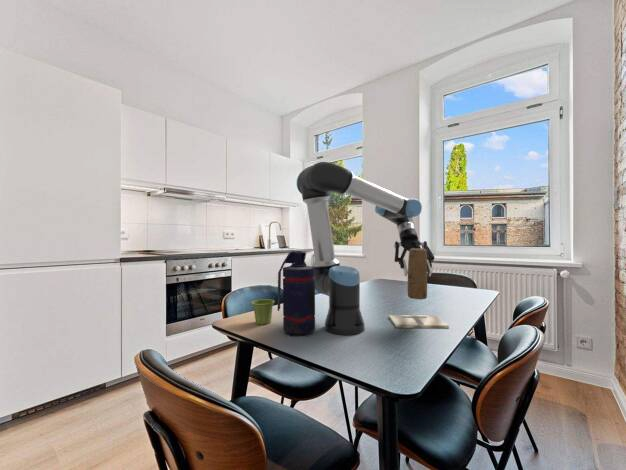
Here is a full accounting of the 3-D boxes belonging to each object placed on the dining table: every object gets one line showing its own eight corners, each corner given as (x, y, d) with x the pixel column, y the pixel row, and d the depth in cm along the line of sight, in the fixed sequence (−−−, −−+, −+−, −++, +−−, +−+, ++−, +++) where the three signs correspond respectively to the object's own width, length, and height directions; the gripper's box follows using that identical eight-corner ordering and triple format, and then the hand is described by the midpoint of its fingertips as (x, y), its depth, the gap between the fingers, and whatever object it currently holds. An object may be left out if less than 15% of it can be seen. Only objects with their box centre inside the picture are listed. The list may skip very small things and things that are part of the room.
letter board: (396, 327, 117) (396, 324, 117) (388, 317, 131) (388, 314, 131) (448, 328, 116) (448, 325, 116) (436, 317, 130) (436, 315, 130)
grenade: (315, 326, 119) (315, 250, 119) (314, 337, 107) (314, 252, 107) (280, 326, 120) (279, 250, 119) (275, 337, 108) (275, 252, 107)
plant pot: (247, 324, 123) (246, 303, 123) (259, 318, 131) (259, 298, 131) (267, 327, 119) (267, 305, 119) (278, 320, 128) (278, 300, 128)
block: (427, 301, 118) (427, 249, 117) (406, 299, 120) (407, 248, 120) (426, 295, 128) (427, 247, 127) (408, 293, 130) (408, 247, 130)
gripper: (384, 228, 136) (392, 268, 120) (433, 227, 135) (448, 268, 119) (382, 239, 141) (389, 279, 125) (430, 239, 140) (443, 279, 124)
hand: (418, 274), depth 122 cm, fingers closed on block, 9 cm apart
